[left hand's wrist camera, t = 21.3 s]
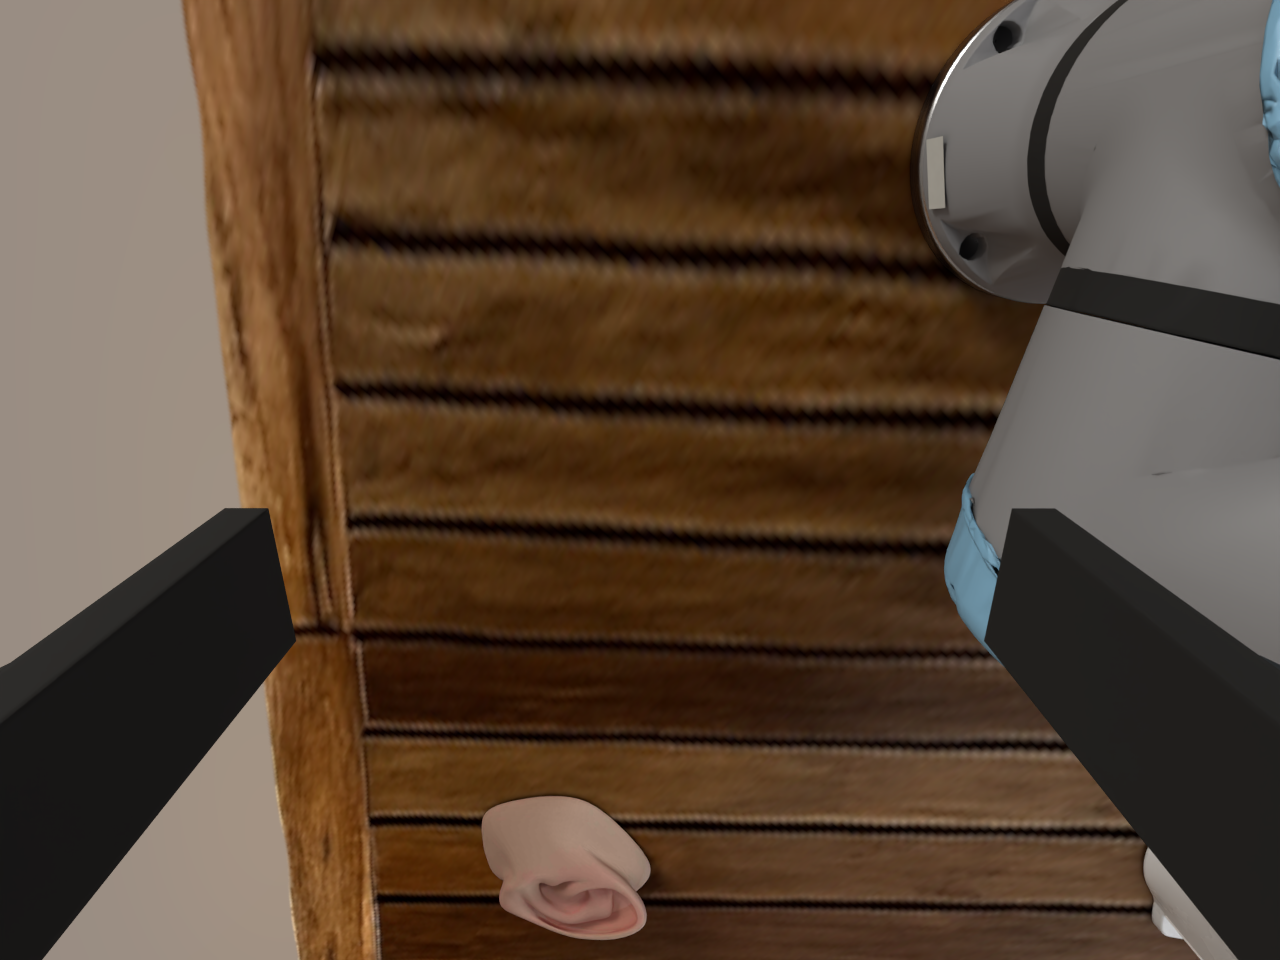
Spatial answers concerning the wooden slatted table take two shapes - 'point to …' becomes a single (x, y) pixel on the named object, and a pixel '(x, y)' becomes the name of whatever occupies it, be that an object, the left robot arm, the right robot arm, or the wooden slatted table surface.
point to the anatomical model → (566, 867)
